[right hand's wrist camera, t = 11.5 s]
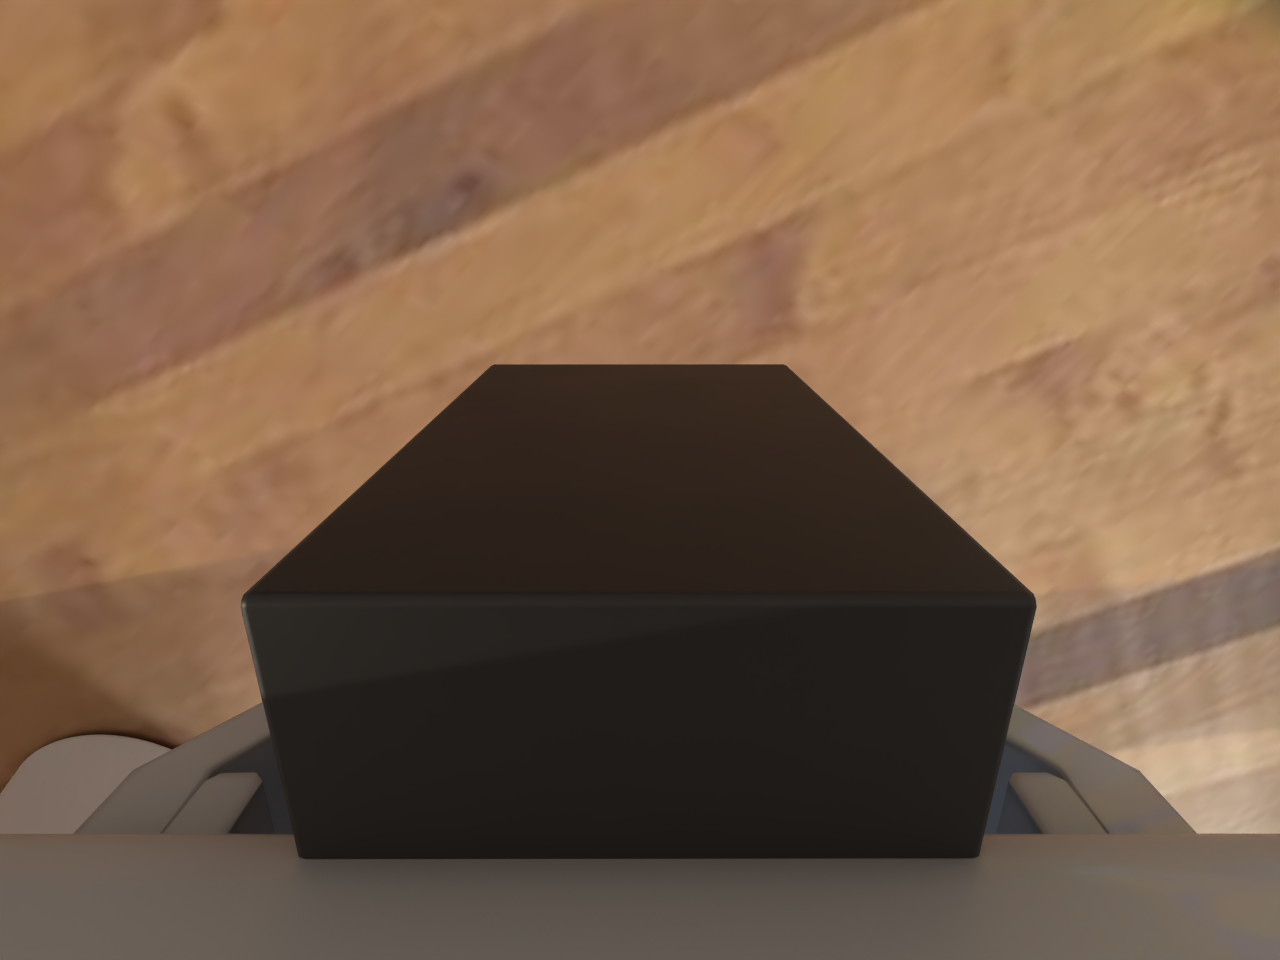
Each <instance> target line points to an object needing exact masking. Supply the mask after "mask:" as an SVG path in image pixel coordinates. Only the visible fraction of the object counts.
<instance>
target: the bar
mask: <svg viewBox="0 0 1280 960" xmlns="http://www.w3.org/2000/svg"><path fill="white" fill-rule="evenodd" d="M1036 607H1037V606H1036V599H1035V597H1034V594H1033V593H1032V592H1031V591H1030V590H1029V589H1027V588H1026V587H1025V586H1024V585H1023V584H1022V583H1021V582H1020V581H1019V580H1018V579H1017V578H1016V577H1014V576H1013V575H1012V574H1011V573H1010V572H1009V571H1008V570H1007V569H1006V568H1005V567H1004V566H1003V565H1001V564H1000V563H999V562H998V561H997V560H996V559H995V558H994V557H993V556H992V555H991V554H990V553H989V552H987V551H986V550H985V549H984V548H983V547H982V546H981V545H980V544H979V543H978V542H977V541H976V540H974V539H973V538H972V537H971V536H970V535H969V534H968V533H967V532H966V531H965V530H964V529H963V528H961V527H960V526H959V525H958V524H957V523H956V522H955V521H954V520H953V519H952V518H951V517H950V516H948V515H947V514H946V513H945V512H944V511H943V510H942V509H941V508H940V507H939V506H938V505H937V504H935V503H934V502H933V501H932V500H931V499H930V498H929V497H928V496H927V495H926V494H925V493H924V492H922V491H921V490H920V489H919V488H918V487H917V486H916V485H915V484H914V483H913V482H912V481H911V480H909V479H908V478H907V477H906V476H905V475H904V474H903V473H902V472H901V471H900V470H899V469H898V468H897V467H895V466H894V465H893V464H892V463H891V462H890V461H889V460H888V459H887V458H886V457H885V456H884V455H882V454H881V453H880V452H879V451H878V450H877V449H876V448H875V447H874V446H873V445H872V444H871V443H869V442H868V441H867V440H866V439H865V438H864V437H863V436H862V435H861V434H860V433H859V432H858V431H856V430H855V429H854V428H853V427H852V426H851V425H850V424H849V423H848V422H847V421H846V420H845V419H843V418H842V417H841V416H840V415H839V414H838V413H837V412H836V411H835V410H834V409H833V408H832V407H830V406H829V405H828V404H827V403H826V402H825V401H824V400H823V399H822V398H821V397H820V396H819V395H817V394H816V393H815V392H814V391H813V390H812V389H811V388H810V387H809V386H808V385H807V384H806V383H804V382H803V381H802V380H801V379H800V378H799V377H798V376H797V375H796V374H795V373H794V372H793V371H792V370H790V369H789V368H788V367H787V366H786V365H492V366H491V367H490V368H489V369H487V370H486V371H485V372H484V373H483V374H482V375H481V376H480V377H479V378H478V379H477V380H476V381H474V382H473V383H472V384H471V385H470V386H469V387H468V388H467V389H466V390H465V391H464V392H463V393H461V394H460V395H459V396H458V397H457V398H456V399H455V400H454V401H453V402H452V403H451V404H450V405H448V406H447V407H446V408H445V409H444V410H443V411H442V412H441V413H440V414H439V415H438V416H437V417H435V418H434V419H433V420H432V421H431V422H430V423H429V424H428V425H427V426H426V427H425V428H424V429H422V430H421V431H420V432H419V433H418V434H417V435H416V436H415V437H414V438H413V439H412V440H411V441H409V442H408V443H407V444H406V445H405V446H404V447H403V448H402V449H401V450H400V451H399V452H398V453H396V454H395V455H394V456H393V457H392V458H391V459H390V460H389V461H388V462H387V463H386V464H385V465H383V466H382V467H381V468H380V469H379V470H378V471H377V472H376V473H375V474H374V475H373V476H372V477H371V478H369V479H368V480H367V481H366V482H365V483H364V484H363V485H362V486H361V487H360V488H359V489H358V490H356V491H355V492H354V493H353V494H352V495H351V496H350V497H349V498H348V499H347V500H346V501H345V502H343V503H342V504H341V505H340V506H339V507H338V508H337V509H336V510H335V511H334V512H333V513H332V514H330V515H329V516H328V517H327V518H326V519H325V520H324V521H323V522H322V523H321V524H320V525H319V526H317V527H316V528H315V529H314V530H313V531H312V532H311V533H310V534H309V535H308V536H307V537H306V538H304V539H303V540H302V541H301V542H300V543H299V544H298V545H297V546H296V547H295V548H294V549H293V550H291V551H290V552H289V553H288V554H287V555H286V556H285V557H284V558H283V559H282V560H281V561H280V562H278V563H277V564H276V565H275V566H274V567H273V568H272V569H271V570H270V571H269V572H268V573H267V574H265V575H264V576H263V577H262V578H261V579H260V580H259V581H258V582H257V583H256V584H255V585H254V586H252V587H251V588H250V589H249V590H248V591H247V592H246V593H245V594H244V595H243V598H242V601H241V611H242V615H243V620H244V624H245V628H246V633H247V637H248V641H249V646H250V650H251V654H252V658H253V663H254V667H255V671H256V676H257V680H258V684H259V689H260V693H261V697H262V701H263V706H264V710H265V714H266V719H267V723H268V727H269V732H270V736H271V740H272V744H273V749H274V753H275V757H276V762H277V766H278V770H279V775H280V779H281V783H282V787H283V792H284V796H285V800H286V805H287V809H288V813H289V818H290V822H291V826H292V830H293V835H294V839H295V843H296V848H297V852H298V856H299V857H300V858H303V859H960V858H975V857H978V856H979V854H980V850H981V845H982V841H983V837H984V832H985V828H986V824H987V819H988V815H989V811H990V806H991V802H992V798H993V793H994V789H995V785H996V780H997V776H998V772H999V767H1000V763H1001V759H1002V754H1003V750H1004V746H1005V741H1006V737H1007V733H1008V728H1009V724H1010V720H1011V715H1012V711H1013V707H1014V702H1015V698H1016V694H1017V689H1018V685H1019V681H1020V676H1021V672H1022V668H1023V663H1024V659H1025V655H1026V650H1027V646H1028V642H1029V637H1030V633H1031V629H1032V624H1033V620H1034V616H1035V611H1036Z"/></svg>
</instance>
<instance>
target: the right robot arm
mask: <svg viewBox="0 0 1280 960" xmlns="http://www.w3.org/2000/svg"><path fill="white" fill-rule="evenodd" d="M0 960H1280V834H1197V833H1196V832H1195V831H1194V830H1193V829H1192V828H1191V827H1190V825H1189V824H1188V823H1187V822H1186V821H1185V820H1184V819H1183V818H1182V817H1181V816H1180V815H1179V813H1178V812H1177V811H1176V810H1175V809H1174V808H1173V807H1172V806H1171V805H1170V804H1169V803H1168V802H1167V800H1166V799H1165V798H1164V797H1163V796H1162V795H1161V794H1160V793H1159V792H1158V791H1157V790H1156V788H1155V787H1154V786H1153V785H1152V784H1151V783H1150V782H1149V781H1148V780H1147V779H1146V778H1145V777H1144V775H1143V774H1142V773H1141V772H1140V771H1139V770H1137V769H1135V768H1133V767H1131V766H1129V765H1127V764H1125V763H1123V762H1122V761H1120V760H1118V759H1116V758H1114V757H1112V756H1110V755H1108V754H1106V753H1105V752H1103V751H1101V750H1099V749H1097V748H1095V747H1093V746H1091V745H1089V744H1087V743H1086V742H1084V741H1082V740H1080V739H1078V738H1076V737H1074V736H1072V735H1070V734H1069V733H1067V732H1065V731H1063V730H1061V729H1059V728H1057V727H1055V726H1053V725H1052V724H1050V723H1048V722H1046V721H1044V720H1042V719H1040V718H1038V717H1036V716H1034V715H1033V714H1031V713H1029V712H1027V711H1025V710H1023V709H1021V708H1019V707H1017V706H1016V705H1014V707H1013V711H1012V715H1011V720H1010V724H1009V728H1008V733H1007V737H1006V741H1005V746H1004V750H1003V754H1002V759H1001V763H1000V767H999V772H998V776H997V780H996V785H995V789H994V793H993V798H992V802H991V806H990V811H989V815H988V819H987V824H986V828H985V832H984V837H983V841H982V845H981V850H980V854H979V856H978V857H975V858H960V859H303V858H300V857H299V856H298V852H297V848H296V843H295V839H294V835H293V830H292V826H291V822H290V818H289V813H288V809H287V805H286V800H285V796H284V792H283V787H282V783H281V779H280V775H279V770H278V766H277V762H276V757H275V753H274V749H273V744H272V740H271V736H270V732H269V727H268V723H267V719H266V714H265V710H264V706H263V702H262V703H260V704H258V705H257V706H255V707H253V708H251V709H249V710H247V711H245V712H243V713H241V714H239V715H237V716H235V717H233V718H232V719H230V720H228V721H226V722H224V723H222V724H220V725H218V726H216V727H214V728H212V729H210V730H209V731H207V732H205V733H203V734H201V735H199V736H197V737H195V738H193V739H191V740H189V741H187V742H186V743H184V744H182V745H180V746H178V747H176V748H174V749H169V748H167V747H164V746H161V745H158V744H155V743H152V742H148V741H145V740H141V739H136V738H131V737H125V736H117V735H82V736H75V737H70V738H66V739H62V740H59V741H55V742H53V743H50V744H48V745H46V746H44V747H42V748H40V749H39V750H37V751H35V752H34V753H33V754H32V755H30V756H29V757H28V758H27V759H26V760H25V761H24V762H23V763H22V764H21V766H20V767H19V768H18V770H17V771H16V772H15V774H14V775H13V777H12V778H11V780H10V781H9V782H8V784H7V785H6V786H5V788H4V789H3V790H2V792H1V793H0Z"/></svg>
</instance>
